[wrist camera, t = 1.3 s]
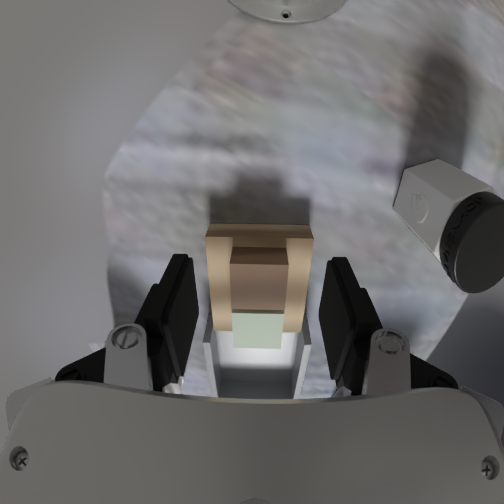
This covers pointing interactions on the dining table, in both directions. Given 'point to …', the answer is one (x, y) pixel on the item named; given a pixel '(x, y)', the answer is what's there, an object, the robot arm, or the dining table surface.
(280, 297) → the tile near
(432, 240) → the jar
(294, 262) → the board
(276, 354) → the tray
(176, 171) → the dining table surface
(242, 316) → the tile far
